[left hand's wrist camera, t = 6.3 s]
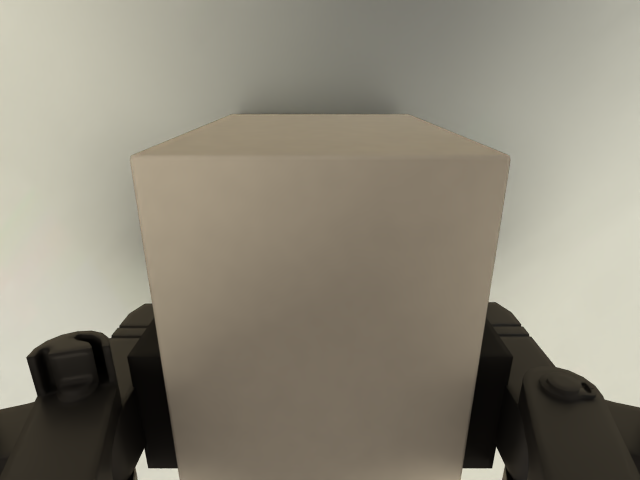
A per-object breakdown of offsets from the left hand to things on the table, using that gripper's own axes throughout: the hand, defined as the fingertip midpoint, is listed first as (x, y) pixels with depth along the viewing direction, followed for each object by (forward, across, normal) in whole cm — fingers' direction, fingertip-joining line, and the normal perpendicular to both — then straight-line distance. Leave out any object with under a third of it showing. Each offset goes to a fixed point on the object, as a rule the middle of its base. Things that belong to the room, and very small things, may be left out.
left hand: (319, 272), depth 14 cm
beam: (0, 0, -22) cm, 22 cm away
